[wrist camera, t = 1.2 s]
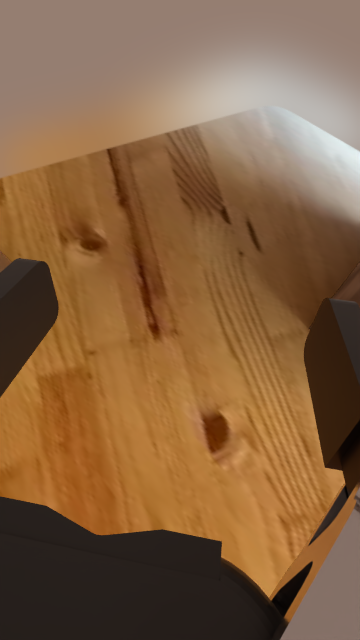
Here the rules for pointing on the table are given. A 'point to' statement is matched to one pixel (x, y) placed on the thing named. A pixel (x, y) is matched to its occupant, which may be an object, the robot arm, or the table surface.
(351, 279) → the dark wooden plinth
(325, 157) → the table surface
